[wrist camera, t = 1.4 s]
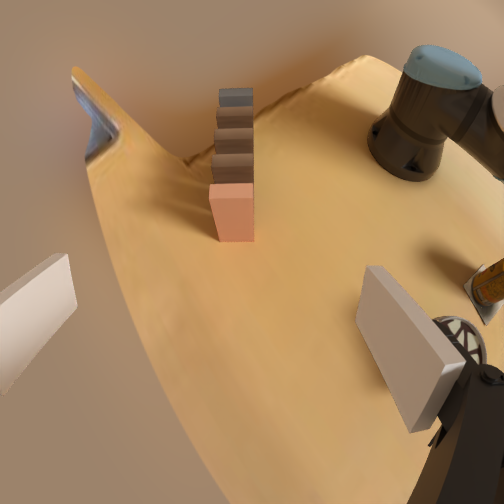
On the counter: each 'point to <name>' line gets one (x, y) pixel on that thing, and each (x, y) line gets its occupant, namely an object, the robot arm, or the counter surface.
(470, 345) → the food container
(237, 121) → the domino
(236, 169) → the domino
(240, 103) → the domino
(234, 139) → the domino
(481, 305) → the condiment
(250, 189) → the domino
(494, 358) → the counter surface
